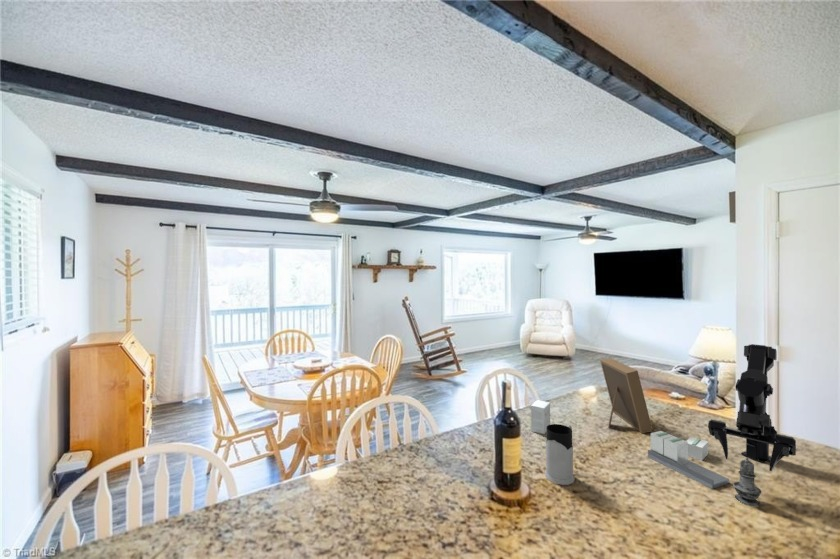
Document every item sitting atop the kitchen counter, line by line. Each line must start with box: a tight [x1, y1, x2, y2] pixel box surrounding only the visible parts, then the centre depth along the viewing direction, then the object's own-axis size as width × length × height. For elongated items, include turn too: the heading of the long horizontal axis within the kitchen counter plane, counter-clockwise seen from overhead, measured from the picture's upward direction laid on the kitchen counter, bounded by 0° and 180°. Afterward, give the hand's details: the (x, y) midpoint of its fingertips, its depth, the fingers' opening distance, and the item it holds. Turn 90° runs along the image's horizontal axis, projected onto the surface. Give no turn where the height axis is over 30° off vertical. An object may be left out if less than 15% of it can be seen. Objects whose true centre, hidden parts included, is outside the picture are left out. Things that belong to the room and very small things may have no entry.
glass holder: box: [544, 423, 575, 486], centre depth 116 cm, size 9×14×15 cm, turn 137°
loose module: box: [686, 436, 709, 462], centre depth 127 cm, size 7×5×5 cm
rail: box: [647, 430, 730, 490], centre depth 117 cm, size 8×20×8 cm, turn 21°
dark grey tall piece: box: [732, 457, 762, 507], centre depth 101 cm, size 6×6×12 cm
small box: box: [530, 399, 551, 435], centre depth 148 cm, size 8×6×10 cm
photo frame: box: [599, 357, 653, 434], centre depth 154 cm, size 15×22×25 cm
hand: (747, 464), depth 102 cm, fingers open, 9 cm apart
